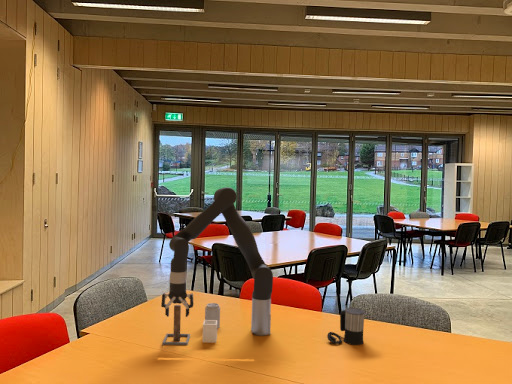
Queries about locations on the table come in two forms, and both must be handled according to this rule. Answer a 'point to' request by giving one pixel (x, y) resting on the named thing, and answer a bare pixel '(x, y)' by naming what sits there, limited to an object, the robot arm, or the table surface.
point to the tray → (176, 342)
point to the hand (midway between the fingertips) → (177, 316)
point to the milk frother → (350, 327)
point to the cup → (209, 331)
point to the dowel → (177, 322)
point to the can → (213, 313)
